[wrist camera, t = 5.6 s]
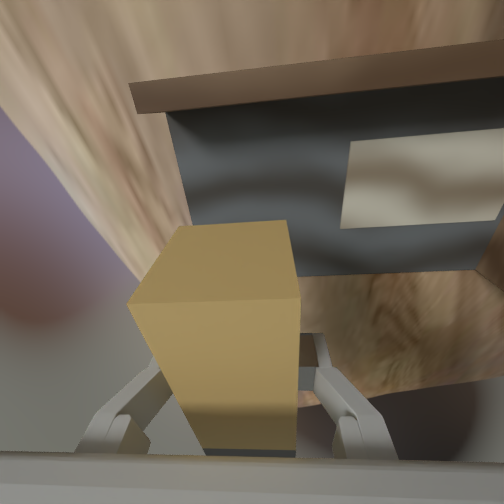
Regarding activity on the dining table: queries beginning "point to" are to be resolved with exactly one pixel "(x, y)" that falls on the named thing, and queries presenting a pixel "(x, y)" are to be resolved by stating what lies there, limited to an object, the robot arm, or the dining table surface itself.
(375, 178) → the gray brown tray
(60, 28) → the dining table surface
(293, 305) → the ochre bar
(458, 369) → the dining table surface
